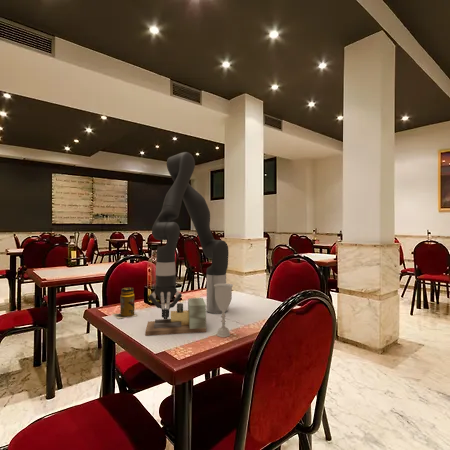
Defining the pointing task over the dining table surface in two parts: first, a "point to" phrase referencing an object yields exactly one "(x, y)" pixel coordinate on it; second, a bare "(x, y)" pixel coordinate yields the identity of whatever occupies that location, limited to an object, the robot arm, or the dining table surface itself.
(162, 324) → the brown board with blocks
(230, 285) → the chalice
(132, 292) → the condiment
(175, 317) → the tan box
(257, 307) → the dining table surface
